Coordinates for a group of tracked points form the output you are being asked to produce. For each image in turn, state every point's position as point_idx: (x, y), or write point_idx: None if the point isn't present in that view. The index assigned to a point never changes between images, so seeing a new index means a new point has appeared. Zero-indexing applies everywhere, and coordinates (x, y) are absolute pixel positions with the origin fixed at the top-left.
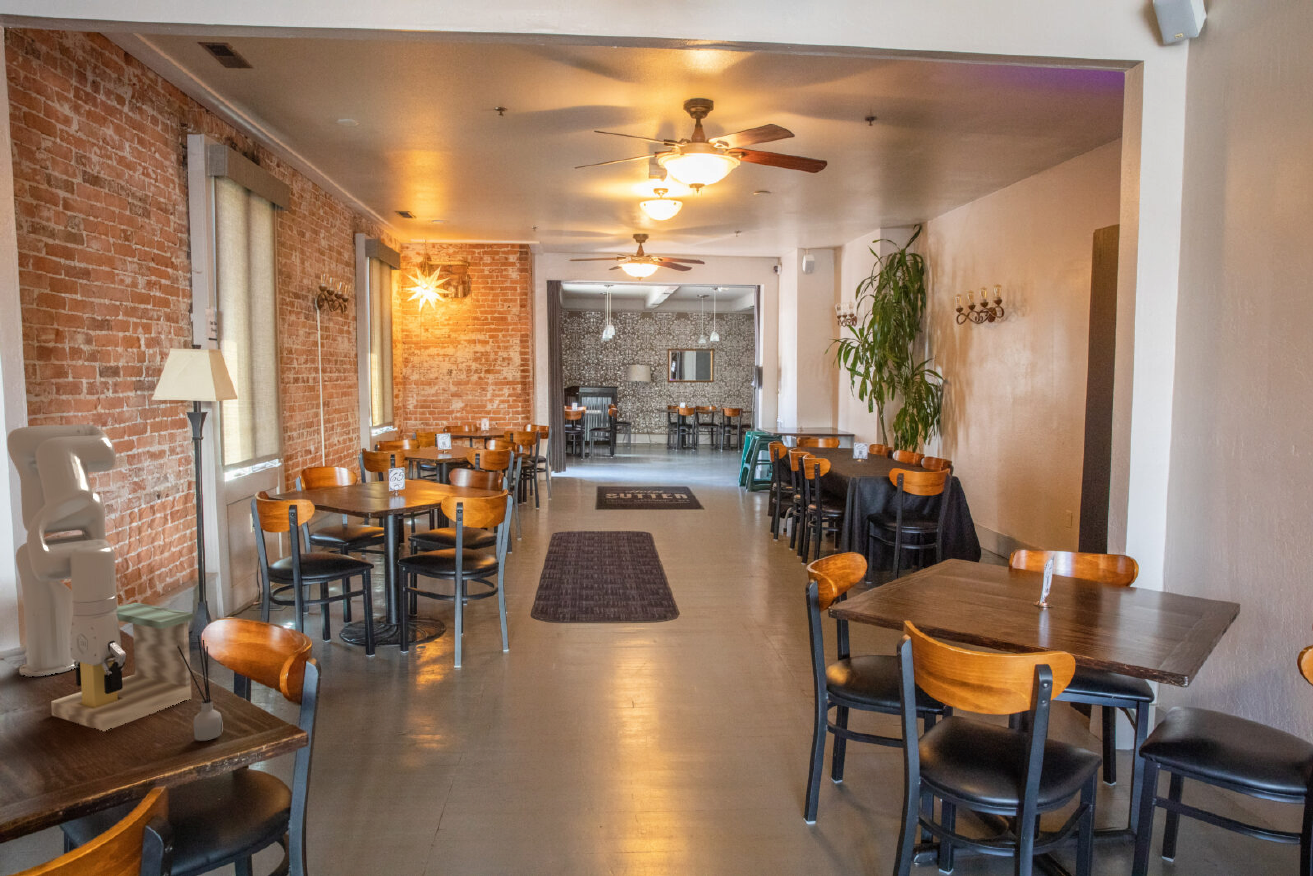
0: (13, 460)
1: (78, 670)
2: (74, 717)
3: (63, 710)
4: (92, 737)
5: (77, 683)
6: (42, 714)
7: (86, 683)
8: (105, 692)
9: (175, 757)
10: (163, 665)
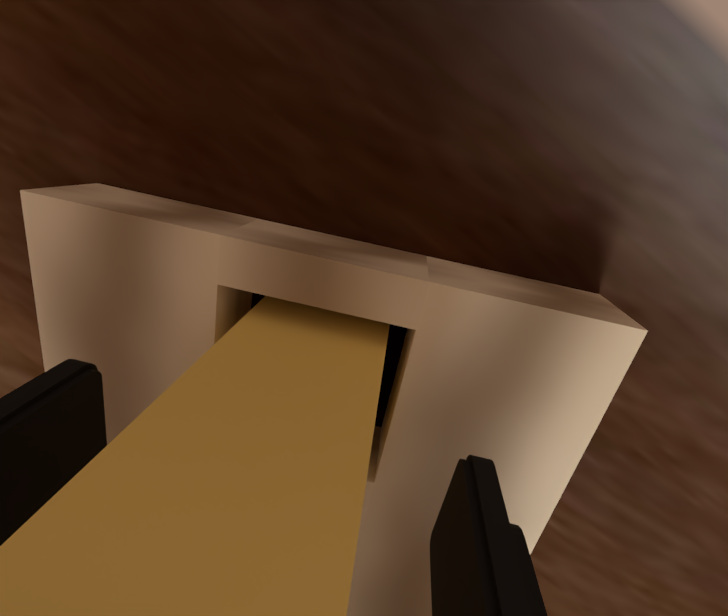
0: None
1: (481, 603)
2: (363, 249)
3: (483, 282)
4: (77, 104)
5: (478, 469)
6: (681, 297)
7: (280, 430)
8: (75, 363)
9: None
10: None
